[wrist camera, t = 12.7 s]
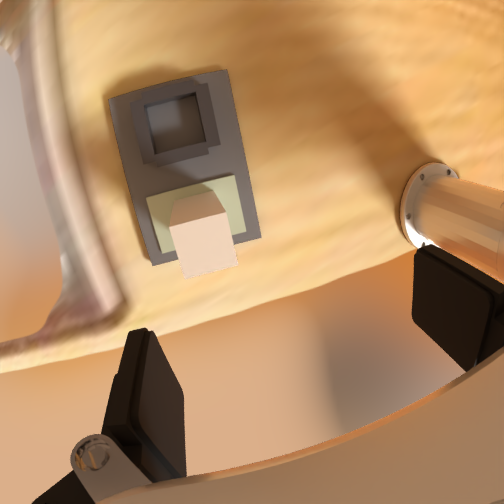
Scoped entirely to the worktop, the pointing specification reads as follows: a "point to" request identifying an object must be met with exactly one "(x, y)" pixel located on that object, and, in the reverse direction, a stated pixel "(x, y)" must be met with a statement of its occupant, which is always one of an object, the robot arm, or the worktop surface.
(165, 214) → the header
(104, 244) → the worktop surface
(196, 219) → the plug
